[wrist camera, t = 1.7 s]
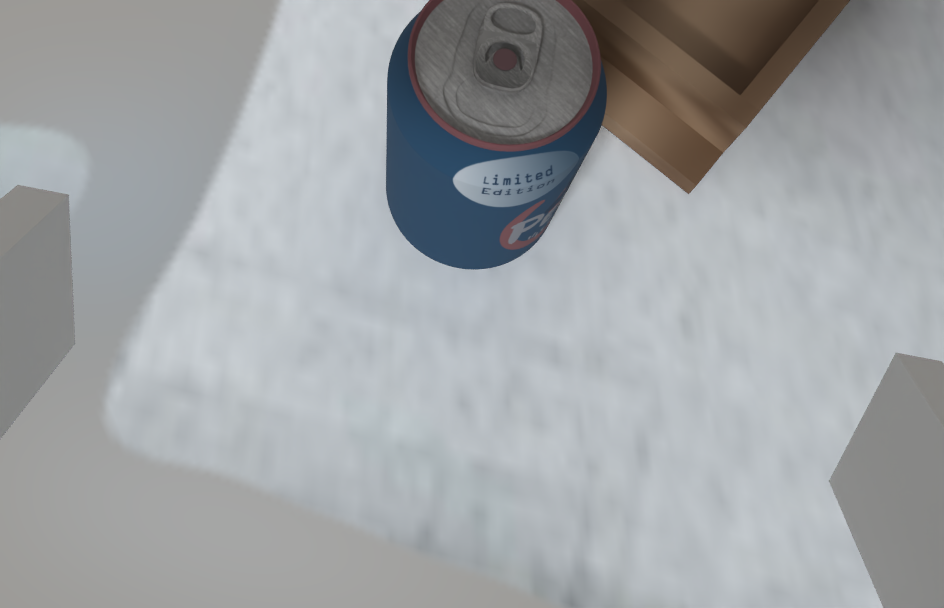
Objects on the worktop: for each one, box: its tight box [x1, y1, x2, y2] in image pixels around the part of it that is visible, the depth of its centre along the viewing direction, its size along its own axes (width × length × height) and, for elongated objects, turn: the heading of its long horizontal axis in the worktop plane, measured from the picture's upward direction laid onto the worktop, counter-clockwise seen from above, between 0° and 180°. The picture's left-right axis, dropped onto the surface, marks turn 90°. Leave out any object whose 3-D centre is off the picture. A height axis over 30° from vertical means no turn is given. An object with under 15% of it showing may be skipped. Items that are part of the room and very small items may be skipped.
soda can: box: [386, 0, 607, 269], centre depth 32 cm, size 7×7×12 cm
